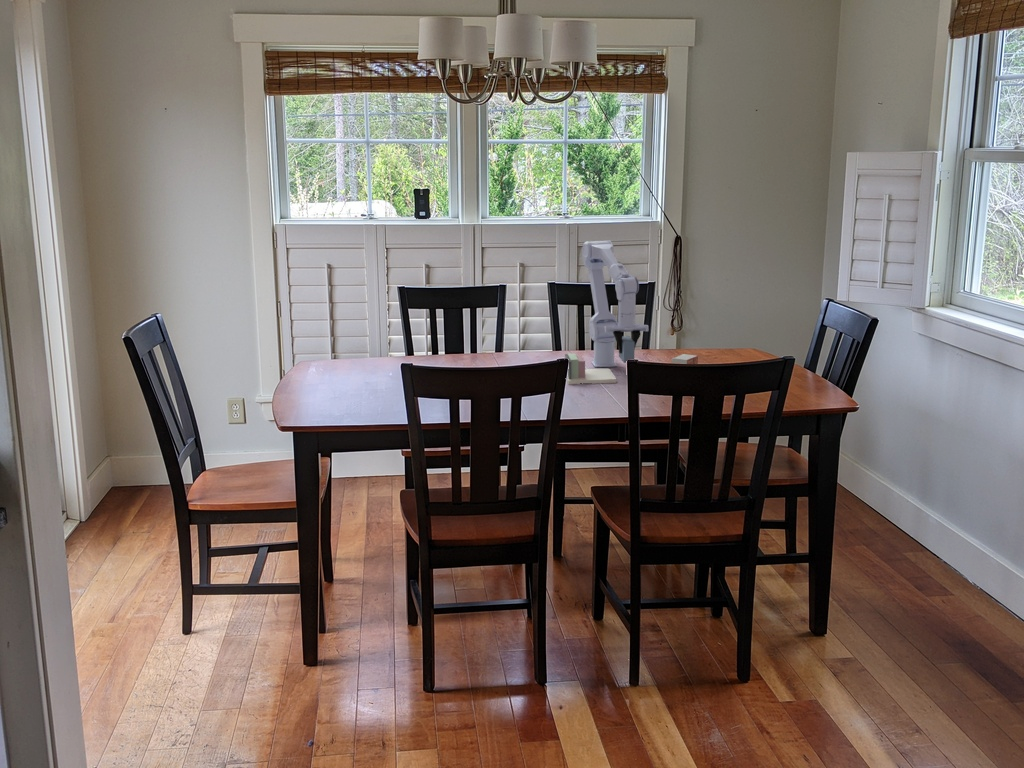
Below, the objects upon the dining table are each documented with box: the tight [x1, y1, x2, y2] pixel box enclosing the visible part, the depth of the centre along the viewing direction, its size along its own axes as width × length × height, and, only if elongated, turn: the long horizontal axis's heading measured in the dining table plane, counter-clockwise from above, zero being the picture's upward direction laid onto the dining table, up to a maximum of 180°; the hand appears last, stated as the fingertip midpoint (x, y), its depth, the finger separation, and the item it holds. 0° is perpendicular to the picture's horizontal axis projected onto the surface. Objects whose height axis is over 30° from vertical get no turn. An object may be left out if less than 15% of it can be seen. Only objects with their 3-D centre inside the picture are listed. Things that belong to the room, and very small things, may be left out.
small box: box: [670, 353, 699, 365], centre depth 314 cm, size 8×6×10 cm
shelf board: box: [566, 367, 618, 385], centre depth 332 cm, size 16×16×1 cm
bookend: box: [564, 353, 571, 379], centre depth 331 cm, size 12×1×6 cm, turn 3°
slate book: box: [618, 335, 636, 364], centre depth 333 cm, size 10×4×7 cm, turn 4°
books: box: [566, 352, 586, 379], centre depth 331 cm, size 10×5×6 cm, turn 3°
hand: (626, 352), depth 333 cm, fingers closed on slate book, 3 cm apart
